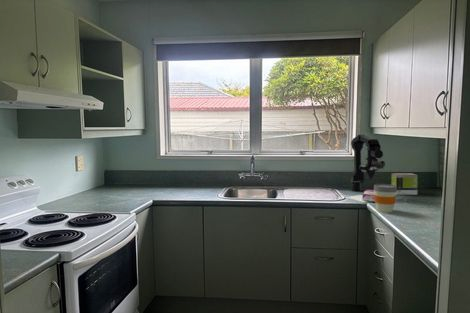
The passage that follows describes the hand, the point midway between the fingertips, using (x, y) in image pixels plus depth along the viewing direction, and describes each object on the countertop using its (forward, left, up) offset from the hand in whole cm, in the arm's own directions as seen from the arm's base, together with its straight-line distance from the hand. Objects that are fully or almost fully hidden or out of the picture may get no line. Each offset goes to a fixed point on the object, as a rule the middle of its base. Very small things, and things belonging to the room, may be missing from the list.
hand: (371, 179), depth 232 cm
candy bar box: (-1, +2, -10) cm, 10 cm away
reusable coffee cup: (+24, +28, -13) cm, 39 cm away
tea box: (-31, +5, -13) cm, 34 cm away
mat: (+9, +1, -13) cm, 16 cm away
